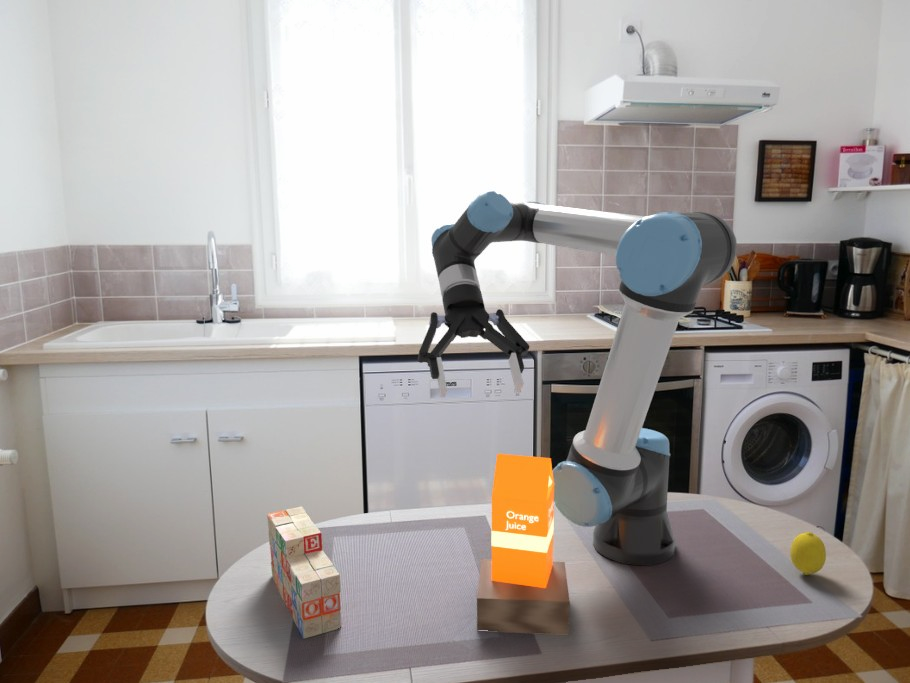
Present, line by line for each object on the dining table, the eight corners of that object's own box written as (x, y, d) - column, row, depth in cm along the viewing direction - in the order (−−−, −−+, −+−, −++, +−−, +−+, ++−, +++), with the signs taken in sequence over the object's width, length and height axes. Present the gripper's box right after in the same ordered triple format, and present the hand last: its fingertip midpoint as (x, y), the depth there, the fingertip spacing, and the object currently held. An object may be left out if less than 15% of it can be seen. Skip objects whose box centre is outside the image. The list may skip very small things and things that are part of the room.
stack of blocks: (342, 629, 109) (339, 556, 107) (303, 640, 106) (298, 566, 104) (305, 568, 128) (302, 504, 125) (271, 576, 125) (266, 511, 123)
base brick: (563, 594, 118) (564, 561, 117) (568, 637, 107) (569, 601, 106) (481, 591, 120) (481, 559, 119) (477, 633, 108) (476, 598, 107)
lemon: (822, 570, 124) (826, 528, 123) (824, 585, 119) (828, 542, 118) (788, 564, 127) (792, 522, 125) (788, 578, 122) (792, 536, 120)
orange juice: (501, 557, 119) (501, 445, 115) (553, 564, 116) (555, 450, 113) (490, 581, 111) (490, 462, 108) (546, 588, 109) (548, 467, 105)
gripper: (519, 303, 138) (545, 396, 127) (394, 309, 133) (409, 406, 122) (528, 279, 132) (556, 374, 121) (397, 284, 127) (413, 384, 115)
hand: (482, 390), depth 121 cm, fingers open, 13 cm apart
